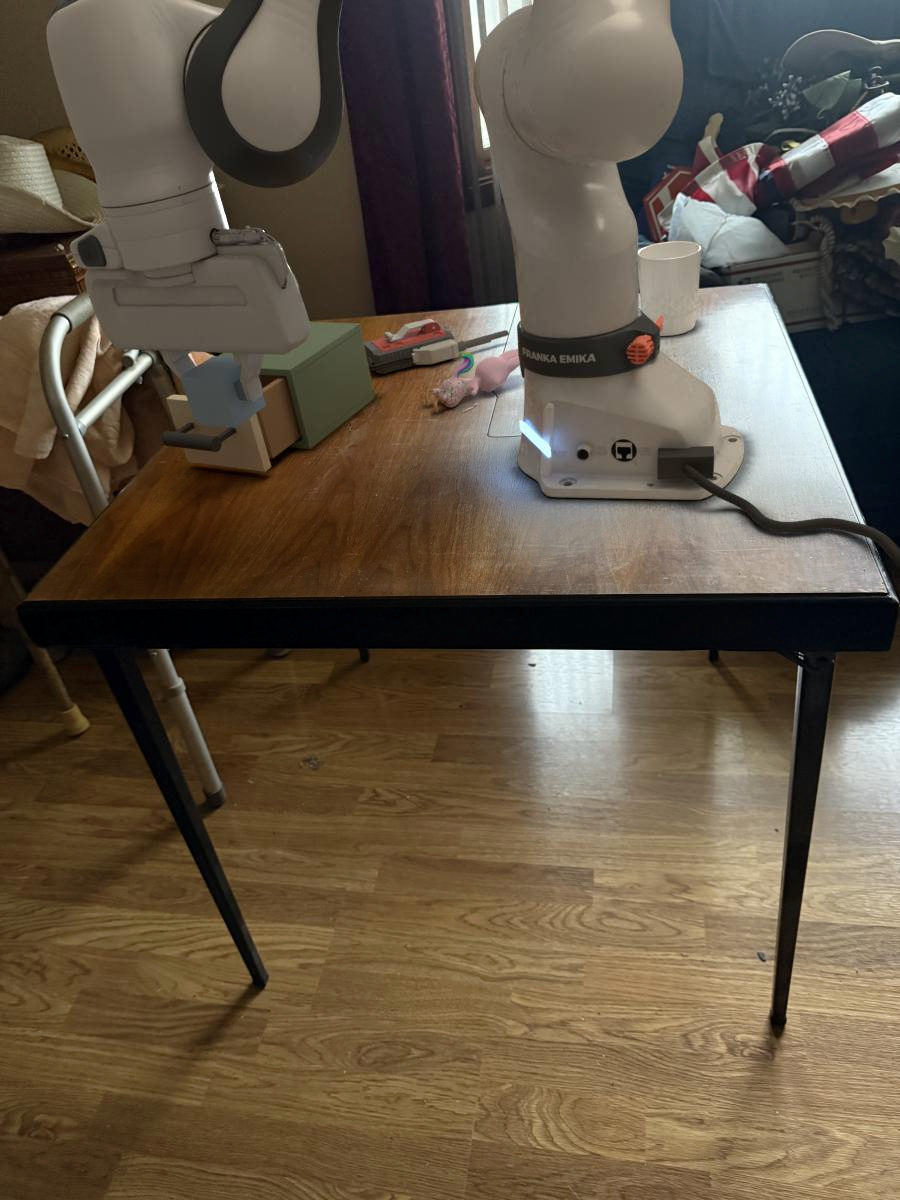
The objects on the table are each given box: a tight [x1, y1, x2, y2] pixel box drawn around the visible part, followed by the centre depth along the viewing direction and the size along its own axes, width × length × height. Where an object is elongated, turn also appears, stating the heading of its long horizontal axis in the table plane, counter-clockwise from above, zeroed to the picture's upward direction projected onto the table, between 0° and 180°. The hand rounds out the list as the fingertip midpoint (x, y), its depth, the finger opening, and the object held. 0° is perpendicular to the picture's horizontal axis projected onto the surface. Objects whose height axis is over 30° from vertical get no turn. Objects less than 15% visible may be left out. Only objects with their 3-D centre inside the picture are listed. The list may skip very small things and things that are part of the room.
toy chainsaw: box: [364, 318, 510, 375], centre depth 120 cm, size 9×4×20 cm
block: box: [179, 356, 266, 428], centre depth 76 cm, size 4×4×4 cm
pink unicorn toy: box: [423, 348, 520, 413], centre depth 106 cm, size 6×6×15 cm
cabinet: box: [216, 321, 376, 450], centre depth 106 cm, size 15×13×10 cm
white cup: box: [638, 240, 703, 337], centre depth 114 cm, size 8×8×10 cm
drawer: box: [161, 375, 302, 473], centre depth 99 cm, size 18×11×8 cm, turn 153°
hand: (225, 396), depth 77 cm, fingers closed on block, 4 cm apart
